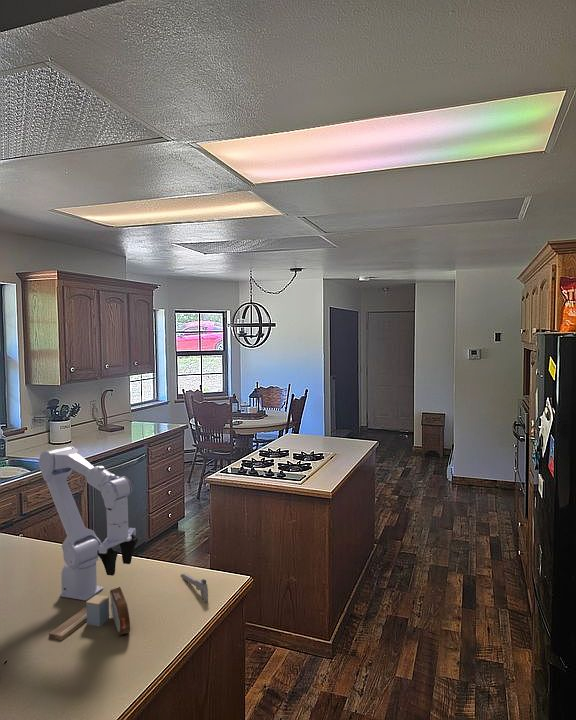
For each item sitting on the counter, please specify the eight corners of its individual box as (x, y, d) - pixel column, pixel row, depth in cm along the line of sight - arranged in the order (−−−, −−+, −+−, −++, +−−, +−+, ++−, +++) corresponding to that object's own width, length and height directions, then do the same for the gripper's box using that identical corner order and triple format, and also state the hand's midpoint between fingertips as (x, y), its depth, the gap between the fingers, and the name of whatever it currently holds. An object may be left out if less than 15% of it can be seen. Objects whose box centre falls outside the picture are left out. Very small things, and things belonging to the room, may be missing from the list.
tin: (131, 638, 131) (130, 605, 130) (118, 642, 129) (117, 608, 129) (120, 611, 144) (120, 581, 144) (109, 614, 142) (108, 583, 142)
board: (49, 637, 131) (48, 633, 131) (85, 609, 144) (85, 606, 144) (62, 640, 130) (62, 635, 130) (98, 612, 143) (98, 608, 143)
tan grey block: (86, 624, 137) (86, 601, 137) (96, 616, 141) (96, 594, 141) (99, 626, 136) (99, 604, 136) (109, 618, 140) (109, 596, 140)
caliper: (208, 603, 149) (208, 581, 148) (204, 604, 148) (204, 582, 148) (183, 575, 166) (183, 556, 166) (180, 576, 165) (180, 557, 165)
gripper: (113, 531, 138) (115, 581, 138) (144, 514, 152) (145, 560, 152) (91, 529, 140) (93, 578, 141) (123, 512, 154) (124, 557, 154)
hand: (118, 569), depth 147 cm, fingers open, 7 cm apart
